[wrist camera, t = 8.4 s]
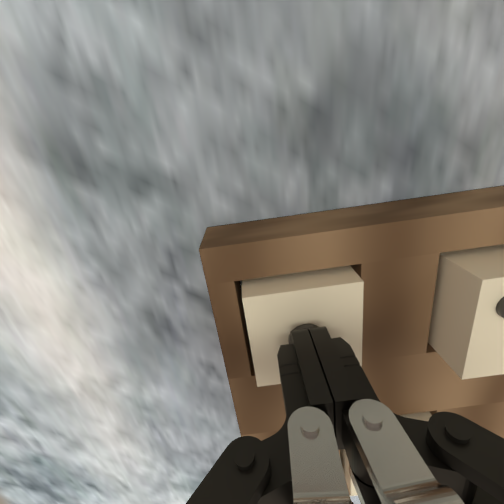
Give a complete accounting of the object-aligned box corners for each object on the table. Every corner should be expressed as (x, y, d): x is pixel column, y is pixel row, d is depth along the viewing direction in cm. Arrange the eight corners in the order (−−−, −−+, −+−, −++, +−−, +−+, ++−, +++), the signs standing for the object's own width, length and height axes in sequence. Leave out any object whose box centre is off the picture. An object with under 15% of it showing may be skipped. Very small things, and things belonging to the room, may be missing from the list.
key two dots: (528, 231, 13) (630, 265, 10) (506, 316, 15) (584, 370, 12) (424, 245, 14) (489, 283, 10) (415, 328, 15) (466, 385, 12)
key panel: (540, 180, 14) (613, 191, 11) (475, 431, 21) (509, 475, 19) (207, 227, 14) (198, 249, 12) (255, 459, 22) (257, 506, 19)
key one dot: (336, 249, 15) (366, 285, 11) (337, 326, 16) (364, 378, 13) (241, 262, 15) (241, 302, 11) (254, 337, 17) (257, 392, 13)
